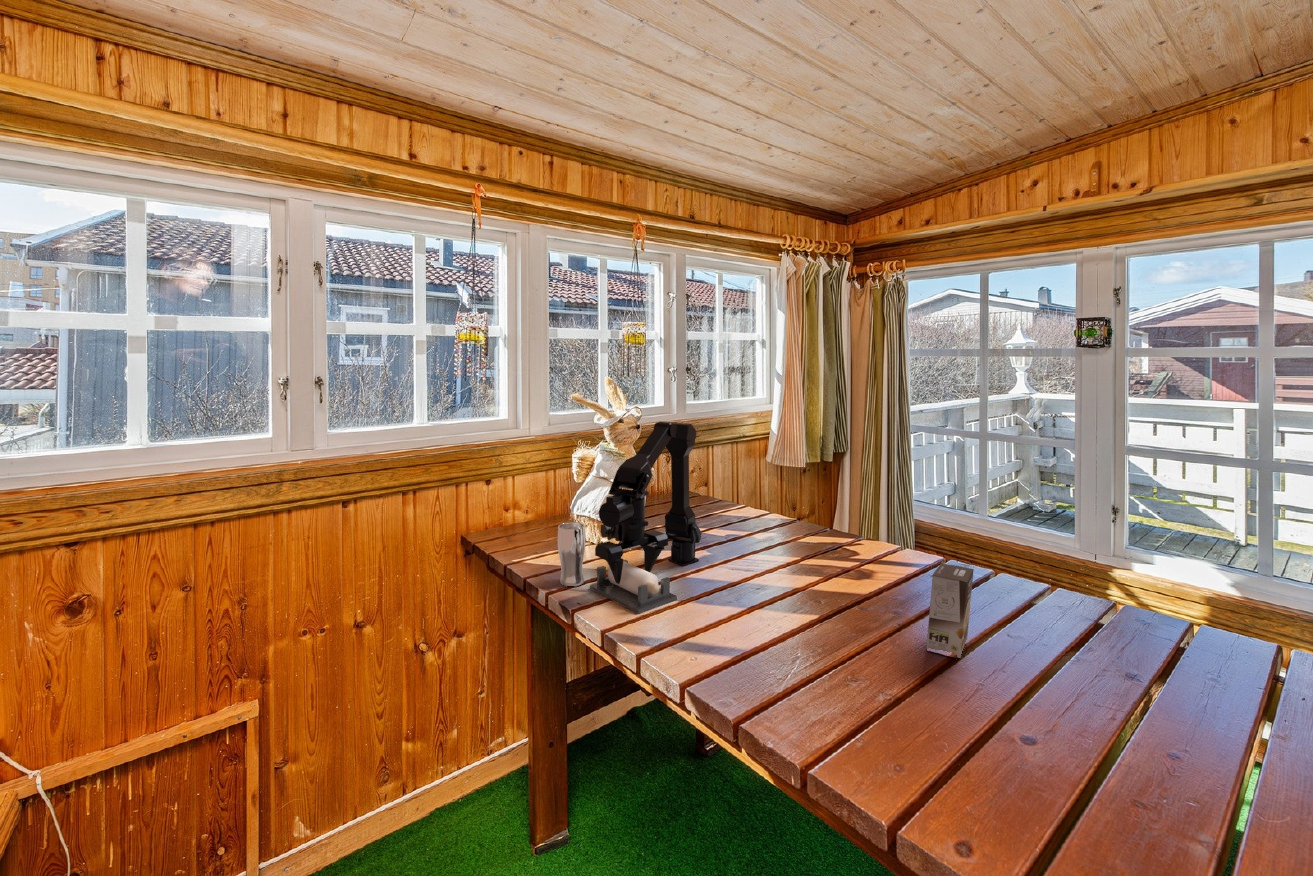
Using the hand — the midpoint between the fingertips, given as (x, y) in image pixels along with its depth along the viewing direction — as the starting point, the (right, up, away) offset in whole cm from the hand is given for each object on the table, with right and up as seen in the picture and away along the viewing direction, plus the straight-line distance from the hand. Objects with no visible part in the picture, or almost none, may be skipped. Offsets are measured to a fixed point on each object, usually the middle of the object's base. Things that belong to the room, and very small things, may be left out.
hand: (632, 578), depth 148 cm
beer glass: (-16, -3, +8) cm, 18 cm away
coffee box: (+65, -9, -24) cm, 70 cm away
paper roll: (0, -3, 0) cm, 3 cm away
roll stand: (0, -4, +1) cm, 4 cm away
